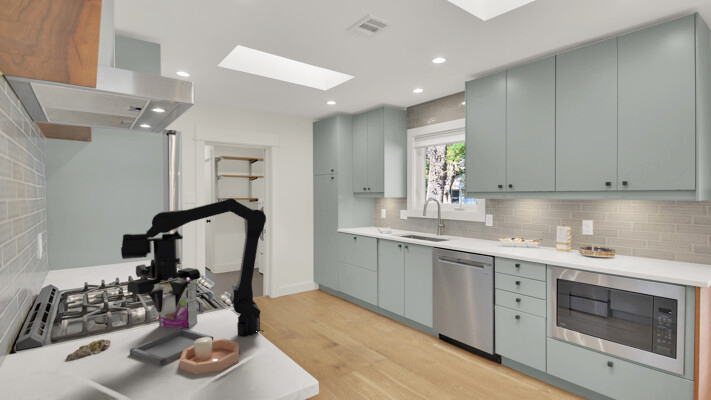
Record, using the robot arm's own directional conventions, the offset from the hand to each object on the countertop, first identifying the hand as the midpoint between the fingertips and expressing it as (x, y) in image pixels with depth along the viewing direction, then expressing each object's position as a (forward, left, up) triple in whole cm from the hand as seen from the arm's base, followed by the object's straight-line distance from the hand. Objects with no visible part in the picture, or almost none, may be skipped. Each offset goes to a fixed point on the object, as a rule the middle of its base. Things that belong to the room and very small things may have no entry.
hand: (167, 309), depth 102 cm
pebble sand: (0, +15, -11) cm, 18 cm away
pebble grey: (0, 0, -1) cm, 1 cm away
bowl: (0, +18, -11) cm, 21 cm away
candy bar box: (-12, -12, -12) cm, 21 cm away
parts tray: (0, +2, -11) cm, 12 cm away
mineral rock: (+12, -17, -12) cm, 24 cm away
